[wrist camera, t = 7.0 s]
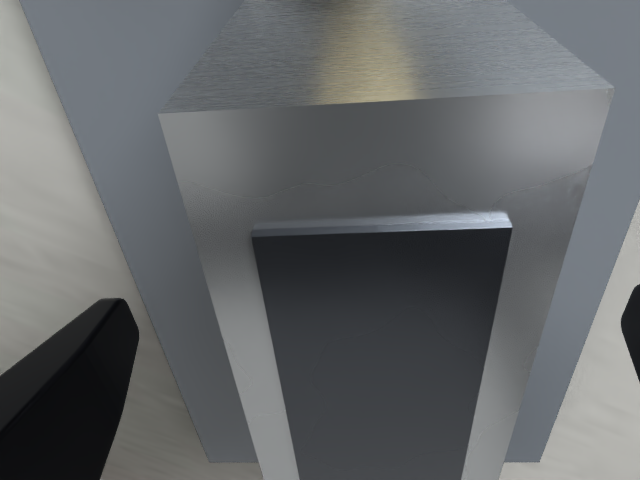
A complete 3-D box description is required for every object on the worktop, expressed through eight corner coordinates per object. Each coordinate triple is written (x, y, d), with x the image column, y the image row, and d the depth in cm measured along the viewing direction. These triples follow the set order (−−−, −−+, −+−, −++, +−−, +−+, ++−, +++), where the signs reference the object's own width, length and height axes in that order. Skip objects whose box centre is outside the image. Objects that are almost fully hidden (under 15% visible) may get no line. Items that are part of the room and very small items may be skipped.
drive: (419, 356, 14) (460, 617, 9) (315, 358, 14) (300, 613, 9) (450, -45, 8) (621, 94, 3) (268, -30, 8) (152, 120, 3)
